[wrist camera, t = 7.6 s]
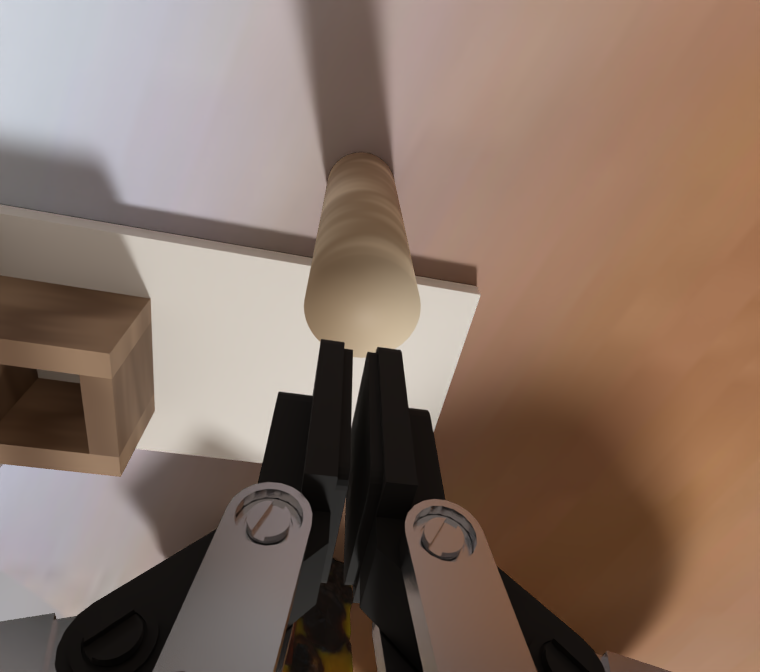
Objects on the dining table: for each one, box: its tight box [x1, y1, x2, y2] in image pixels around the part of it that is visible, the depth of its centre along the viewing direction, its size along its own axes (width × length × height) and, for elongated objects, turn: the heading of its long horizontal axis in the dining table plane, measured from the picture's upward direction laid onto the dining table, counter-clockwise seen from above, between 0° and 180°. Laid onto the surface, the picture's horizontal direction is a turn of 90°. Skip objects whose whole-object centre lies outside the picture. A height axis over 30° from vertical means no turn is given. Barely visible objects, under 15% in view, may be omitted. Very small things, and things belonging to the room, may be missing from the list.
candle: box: [283, 558, 353, 672], centre depth 36 cm, size 10×10×10 cm
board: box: [0, 204, 481, 467], centre depth 26 cm, size 26×14×8 cm, turn 79°
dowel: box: [304, 152, 421, 358], centre depth 19 cm, size 3×3×12 cm
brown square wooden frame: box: [0, 275, 155, 477], centre depth 25 cm, size 8×8×5 cm
